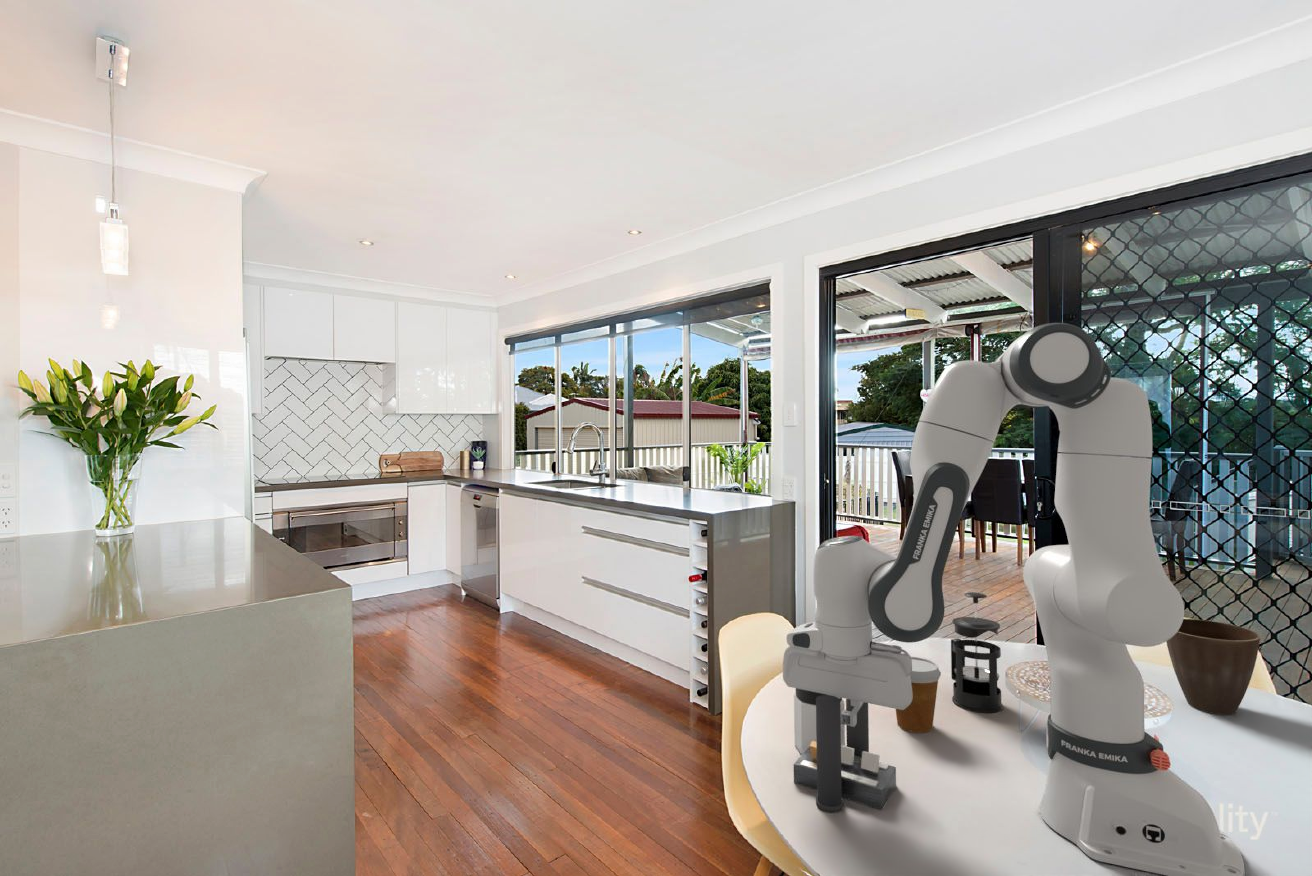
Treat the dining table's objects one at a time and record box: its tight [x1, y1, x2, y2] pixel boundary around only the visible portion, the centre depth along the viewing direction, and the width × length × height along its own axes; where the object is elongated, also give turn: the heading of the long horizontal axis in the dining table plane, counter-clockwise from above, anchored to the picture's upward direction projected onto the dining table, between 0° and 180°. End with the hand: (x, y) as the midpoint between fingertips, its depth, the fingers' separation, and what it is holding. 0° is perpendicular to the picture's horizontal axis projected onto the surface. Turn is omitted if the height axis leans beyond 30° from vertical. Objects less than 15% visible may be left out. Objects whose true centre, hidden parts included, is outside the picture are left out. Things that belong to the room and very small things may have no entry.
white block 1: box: [841, 745, 854, 765], centre depth 103 cm, size 2×1×2 cm, turn 55°
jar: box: [793, 688, 846, 756], centre depth 114 cm, size 9×8×12 cm
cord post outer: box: [815, 695, 844, 814], centre depth 97 cm, size 4×4×16 cm
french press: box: [950, 591, 1004, 714], centre depth 133 cm, size 12×9×23 cm
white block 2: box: [861, 751, 880, 772], centre depth 101 cm, size 2×1×2 cm, turn 55°
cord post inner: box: [845, 698, 870, 757], centre depth 108 cm, size 4×4×16 cm
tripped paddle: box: [810, 741, 817, 759], centre depth 104 cm, size 2×1×2 cm, turn 55°
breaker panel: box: [793, 747, 897, 811], centre depth 102 cm, size 14×8×3 cm, turn 55°
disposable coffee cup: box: [895, 655, 942, 734], centre depth 123 cm, size 10×10×12 cm
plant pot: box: [1165, 618, 1261, 716], centre depth 129 cm, size 15×15×16 cm
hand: (846, 723), depth 102 cm, fingers closed
